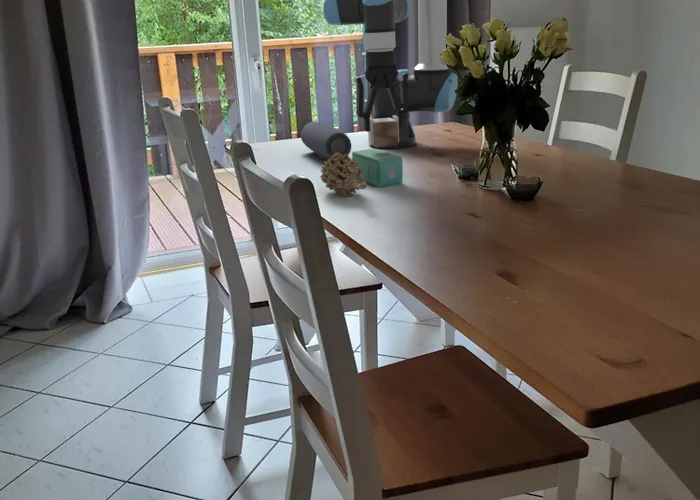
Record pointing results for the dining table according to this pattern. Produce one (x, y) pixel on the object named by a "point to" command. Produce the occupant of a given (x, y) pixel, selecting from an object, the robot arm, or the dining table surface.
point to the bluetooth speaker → (325, 140)
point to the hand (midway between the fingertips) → (383, 142)
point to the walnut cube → (385, 132)
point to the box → (379, 167)
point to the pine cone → (342, 174)
